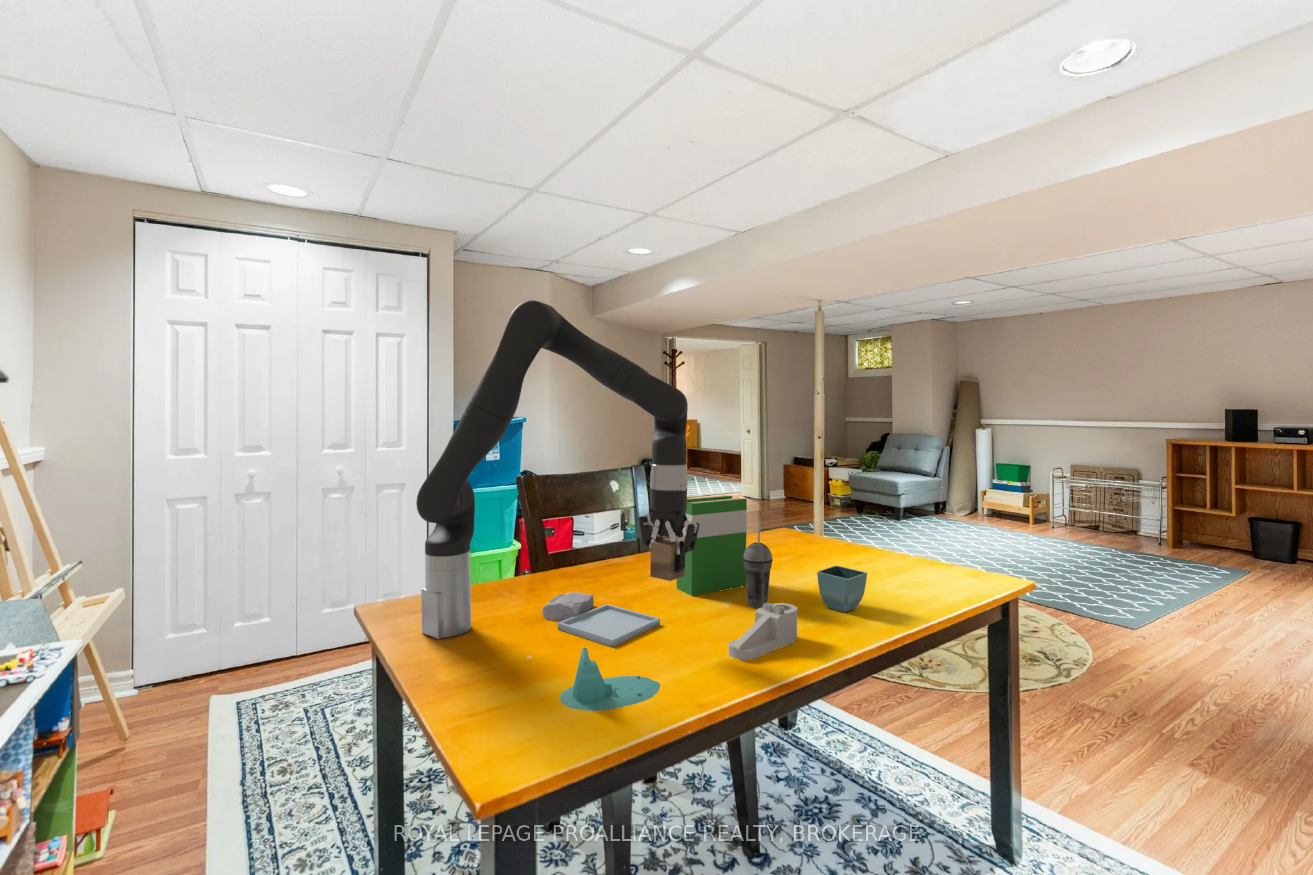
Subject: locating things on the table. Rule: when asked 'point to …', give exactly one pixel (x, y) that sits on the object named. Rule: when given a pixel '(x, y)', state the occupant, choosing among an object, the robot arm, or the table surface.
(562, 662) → the table surface
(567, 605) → the stone block
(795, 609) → the sloped support bracket
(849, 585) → the flower pot
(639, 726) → the table surface
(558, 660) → the table surface
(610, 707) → the diorama
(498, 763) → the table surface
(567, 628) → the dish
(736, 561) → the hardback book
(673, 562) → the walnut block
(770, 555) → the beverage cup
